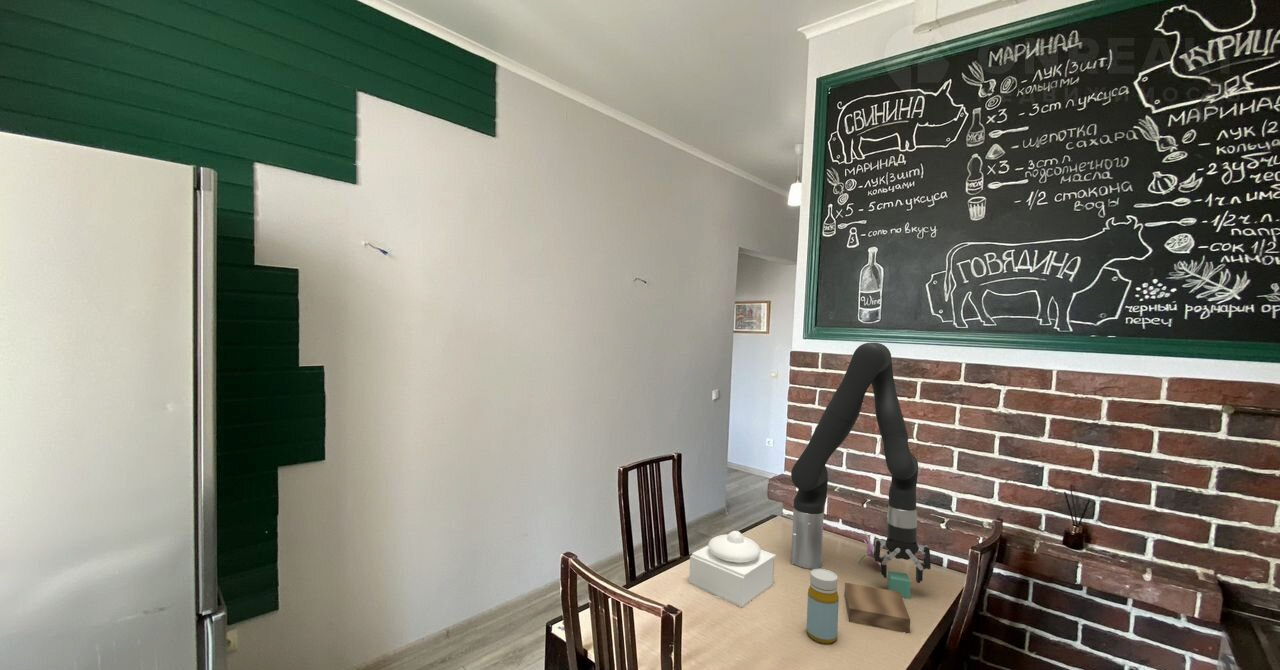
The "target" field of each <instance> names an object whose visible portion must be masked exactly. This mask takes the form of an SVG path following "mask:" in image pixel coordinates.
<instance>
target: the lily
mask: <svg viewBox="0 0 1280 670" xmlns="http://www.w3.org/2000/svg"><path fill="white" fill-rule="evenodd" d="M863 533H864V534H865V537H866V539H867V541H866V540H865V539H863V542H864V543H865V545H866V553H865V555H863V556H862V557H861V558H860V560H858V561H857V565H859V564H860V562H861V561H862V560H863V559H864V558H865V557H867V556H868V557H870V558H872V559H873V560H875V559H874V544H873V543H872V542H871V540H870V537H869V536H868V533H867V532H865V530H863ZM880 557H882V556H881V555H880ZM877 563H878V565H879V567H880V568H881V563H879V562H877Z"/></svg>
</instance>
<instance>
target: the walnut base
mask: <svg viewBox="0 0 1280 670" xmlns="http://www.w3.org/2000/svg"><path fill="white" fill-rule="evenodd" d="M844 600H845V605H846V606H845V607H846V612H847V619H848V622H849V623H853V624H858V625H864V626H869V627H873V628H877V629H878V628H879V629H883V630H889V631H894V632H898V633H903V632H905V634H908V633H910V634H911V616H910V614H909V612H908V609H907V607H906V605H905V602H904V598H902V596H901V594H900V592H897V591H892V590H888V589H885V588H879V587H873V586H867V585H862V584H856V583H850V582H844Z"/></svg>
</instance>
